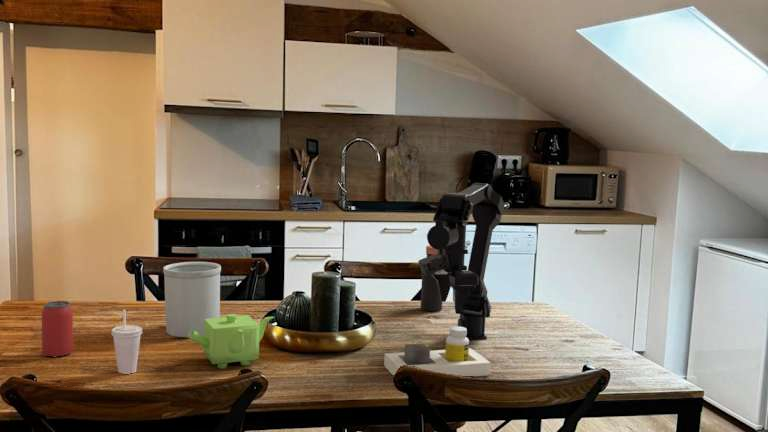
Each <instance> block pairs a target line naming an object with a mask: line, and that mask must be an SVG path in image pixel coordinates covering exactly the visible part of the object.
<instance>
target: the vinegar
mask: <svg viewBox="0 0 768 432" xmlns="http://www.w3.org/2000/svg"><path fill="white" fill-rule="evenodd" d="M437 253H438V250H437V249H434V248H433V247H431V246H430V245H429V244H428V245H426V246H425V255H426V257H428V256H431V255H435V254H437ZM420 290H421V293H420V309H421V310H422V311H424V312H433V313H435V312H441V311H442V310H443V302H442V301H441V298H440V294H439V289H438V285H437V281H436V279H435V278H434V277H433V276H432V275H429V276H427V275H425V274H424V273H422V272H421V288H420Z"/></svg>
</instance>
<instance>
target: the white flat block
mask: <svg viewBox="0 0 768 432" xmlns="http://www.w3.org/2000/svg"><path fill="white" fill-rule="evenodd" d="M445 350H446V349H437V350H434V349H433V350H430V363H429V364H419V365H408V366H415V367H418V368H421V369H425V370H430V371H435V372H441V373H446V374H454V375H462V376H474V377H485V376H490V375H491V365H492V363H491V361H489V360H488V359H487V358H485V357H484V356H482V355H481V354H480V353H479V352H477V351H475V350H474V349H472V348H470V347H469V353H468V361H463V362H448V361H447V360H445ZM404 355H405V351H404V352H388V353H386V352H385V353H384V362H383V365H384V367H385V368H386V370H388V372H389V374H391V375H392V376H393V375H394V374H395V373H396V371H397V370H398V368H399V367H400V366H403V365H407V364H406V363H405V362H404Z"/></svg>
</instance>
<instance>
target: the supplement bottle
mask: <svg viewBox="0 0 768 432" xmlns="http://www.w3.org/2000/svg"><path fill="white" fill-rule="evenodd" d="M466 335H467V329H466V328H464V327H460V326H458V325H457V326H456V325H454V326H450V327H449V335H448V336H447V337H446V339H445V349H444V350H445V360H447V361H448V362H463V361H468V353H469V348H470V340H469V339H468V338H467V337H465V336H466Z"/></svg>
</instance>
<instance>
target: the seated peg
mask: <svg viewBox="0 0 768 432" xmlns="http://www.w3.org/2000/svg"><path fill="white" fill-rule="evenodd" d="M430 351H431V348H429V347H428V346H427V345H426V344H424V343H412V344H411V343H410V344H408V343H407V344H404V352H405V355H404V362H405V363H406V364H407V365H419V364H429V363H430Z"/></svg>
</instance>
